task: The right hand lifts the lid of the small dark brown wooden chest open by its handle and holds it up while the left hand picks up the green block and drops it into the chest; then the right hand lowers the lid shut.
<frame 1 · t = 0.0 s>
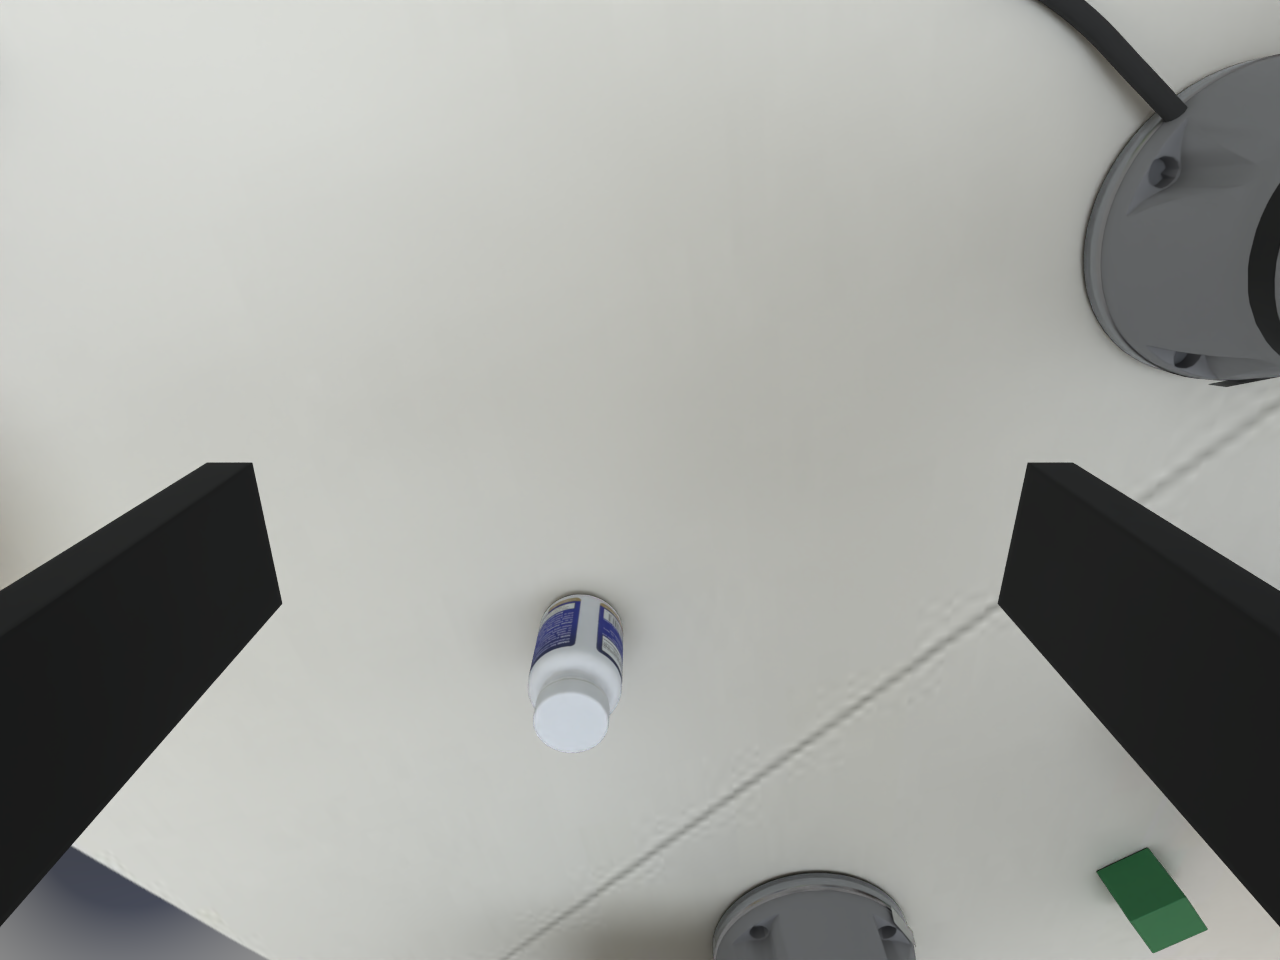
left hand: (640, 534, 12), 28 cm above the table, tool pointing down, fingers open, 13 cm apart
block: (1132, 875, 54), on the table
pill bottle: (582, 626, 46), on the table
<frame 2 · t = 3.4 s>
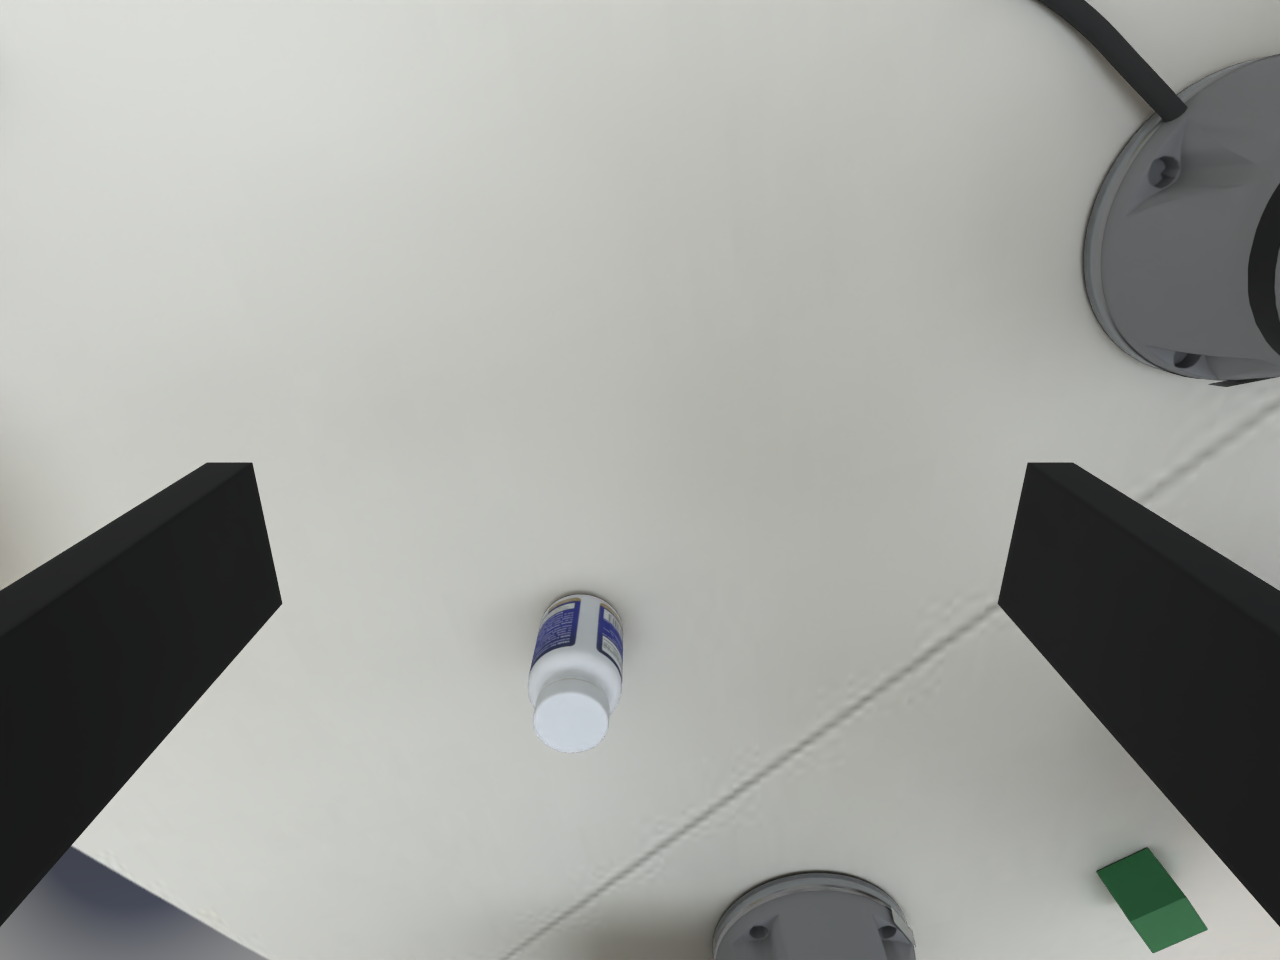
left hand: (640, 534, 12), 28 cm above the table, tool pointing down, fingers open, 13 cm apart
block: (1132, 875, 54), on the table
pill bottle: (582, 626, 46), on the table
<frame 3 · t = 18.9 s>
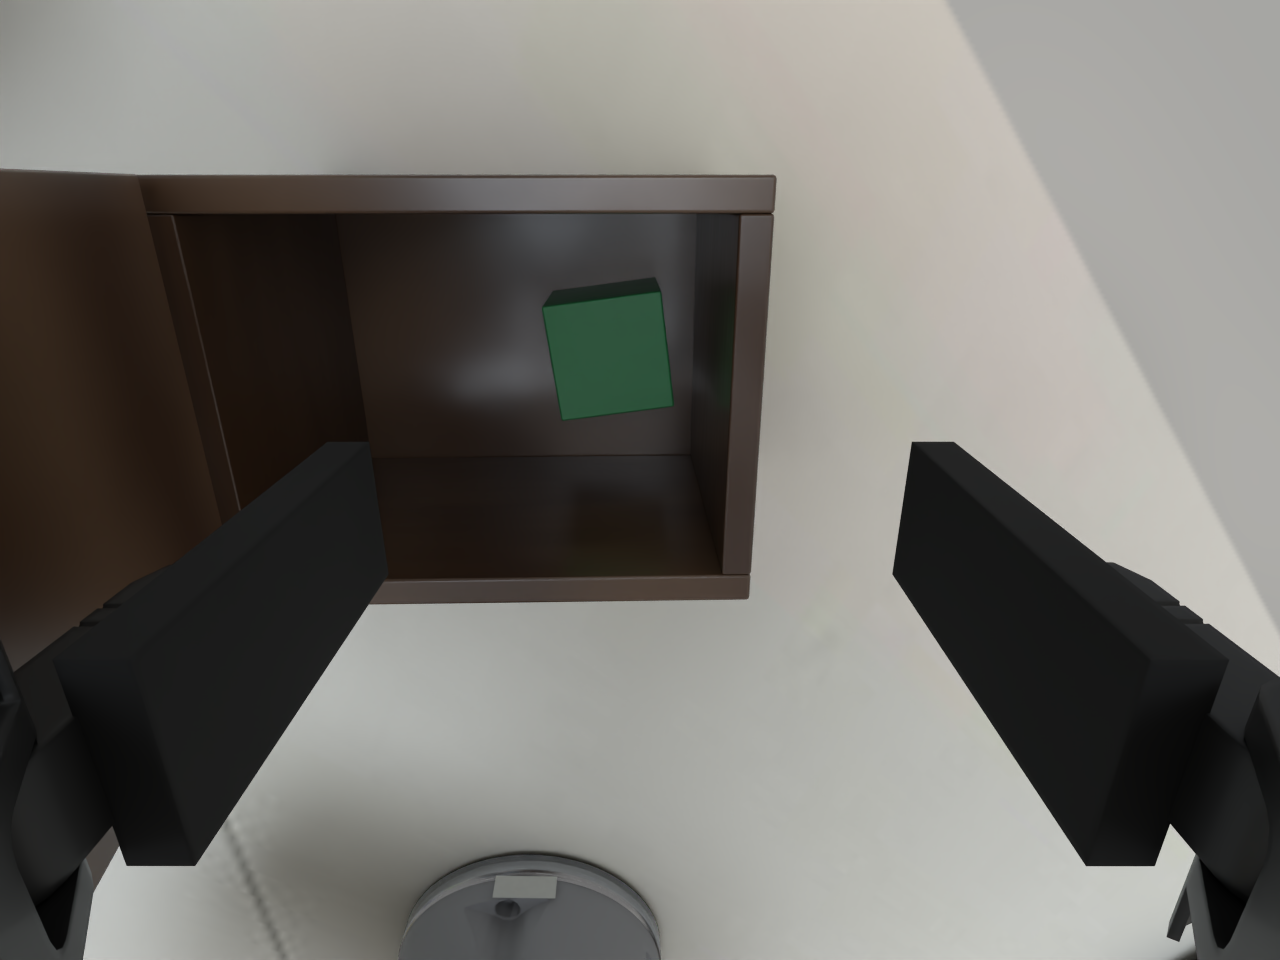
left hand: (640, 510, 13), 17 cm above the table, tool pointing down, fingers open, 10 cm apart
block: (611, 336, 29), point 1 cm above the table, touching chest
chest: (527, 334, 29), on the table, touching block
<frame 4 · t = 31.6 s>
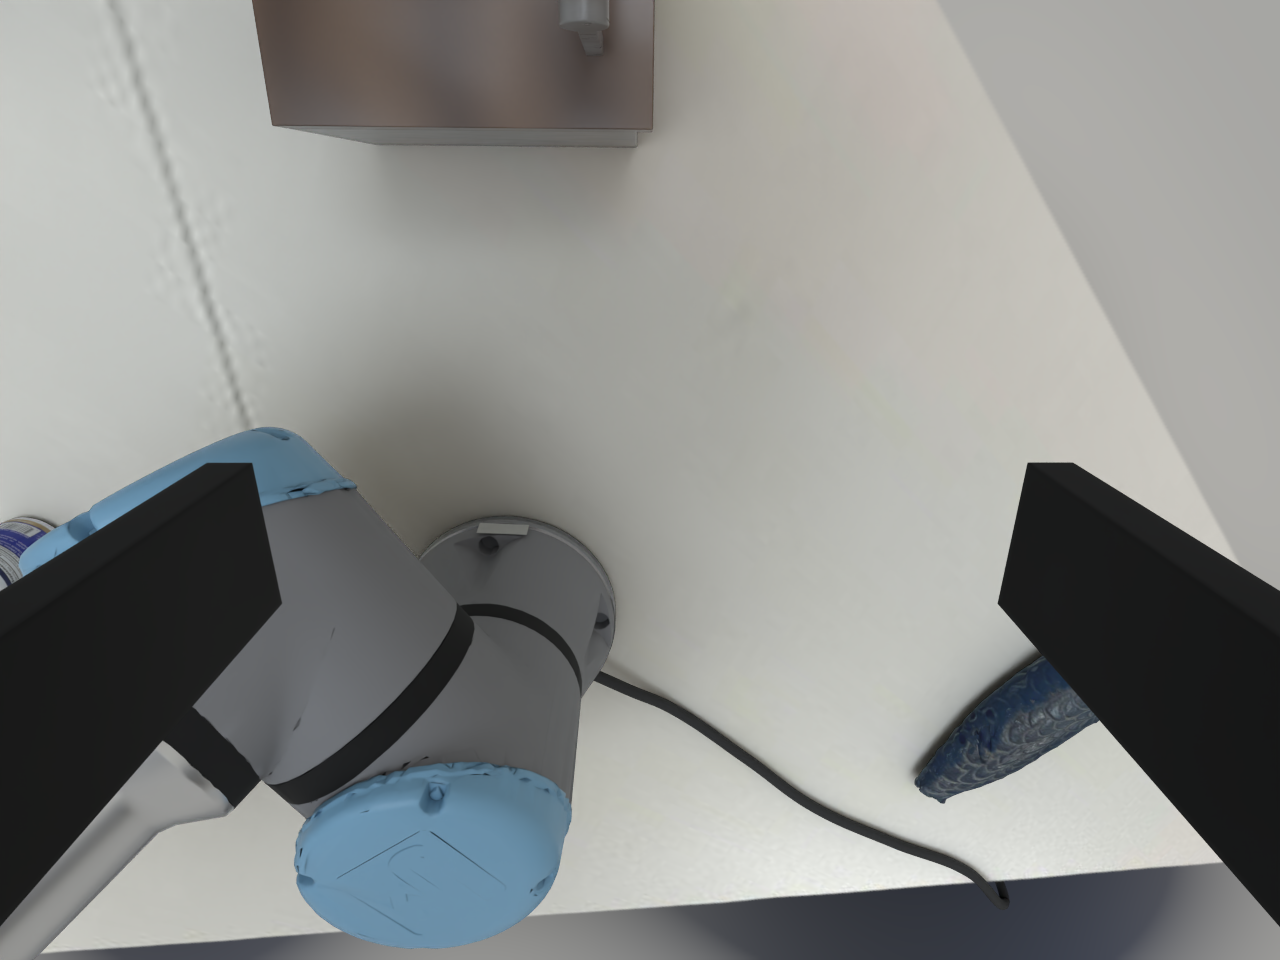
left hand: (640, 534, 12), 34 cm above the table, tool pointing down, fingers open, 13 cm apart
pill bottle: (39, 547, 51), on the table
chest: (499, 29, 39), on the table, touching block
fish model: (1014, 698, 56), on the table
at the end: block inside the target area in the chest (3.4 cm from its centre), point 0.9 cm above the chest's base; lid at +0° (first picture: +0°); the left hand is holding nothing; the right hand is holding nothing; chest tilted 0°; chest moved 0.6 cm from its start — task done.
